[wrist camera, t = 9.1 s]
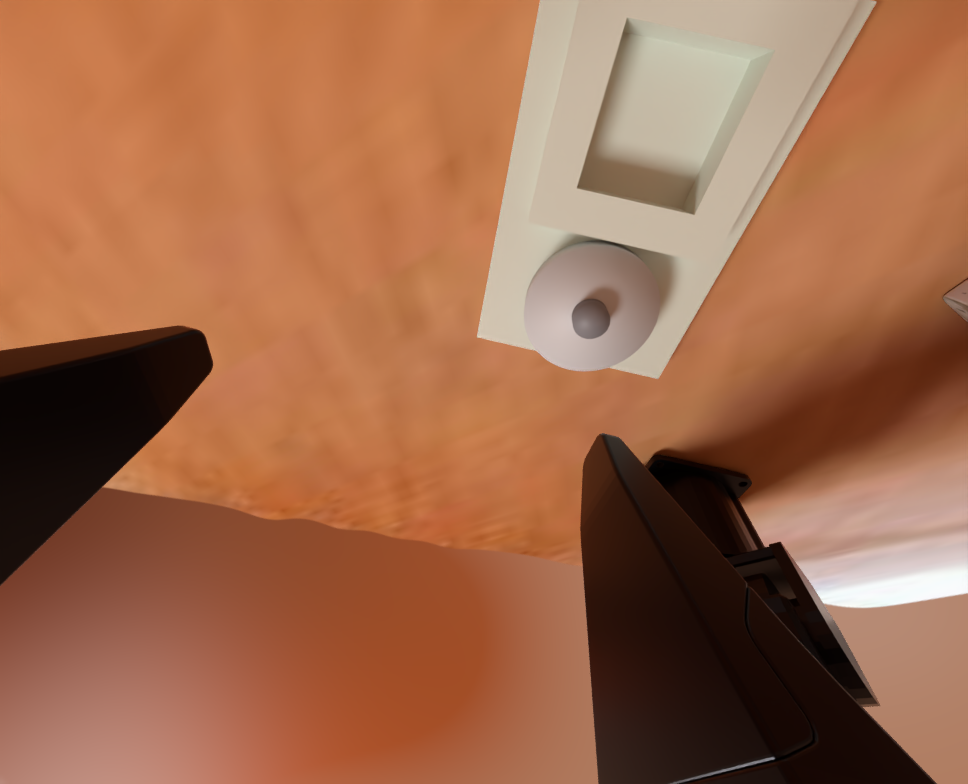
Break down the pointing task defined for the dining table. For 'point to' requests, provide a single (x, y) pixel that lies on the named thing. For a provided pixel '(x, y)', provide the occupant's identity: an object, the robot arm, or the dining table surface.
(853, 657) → the robot arm
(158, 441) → the dining table surface
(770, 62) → the block
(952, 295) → the coffee box
